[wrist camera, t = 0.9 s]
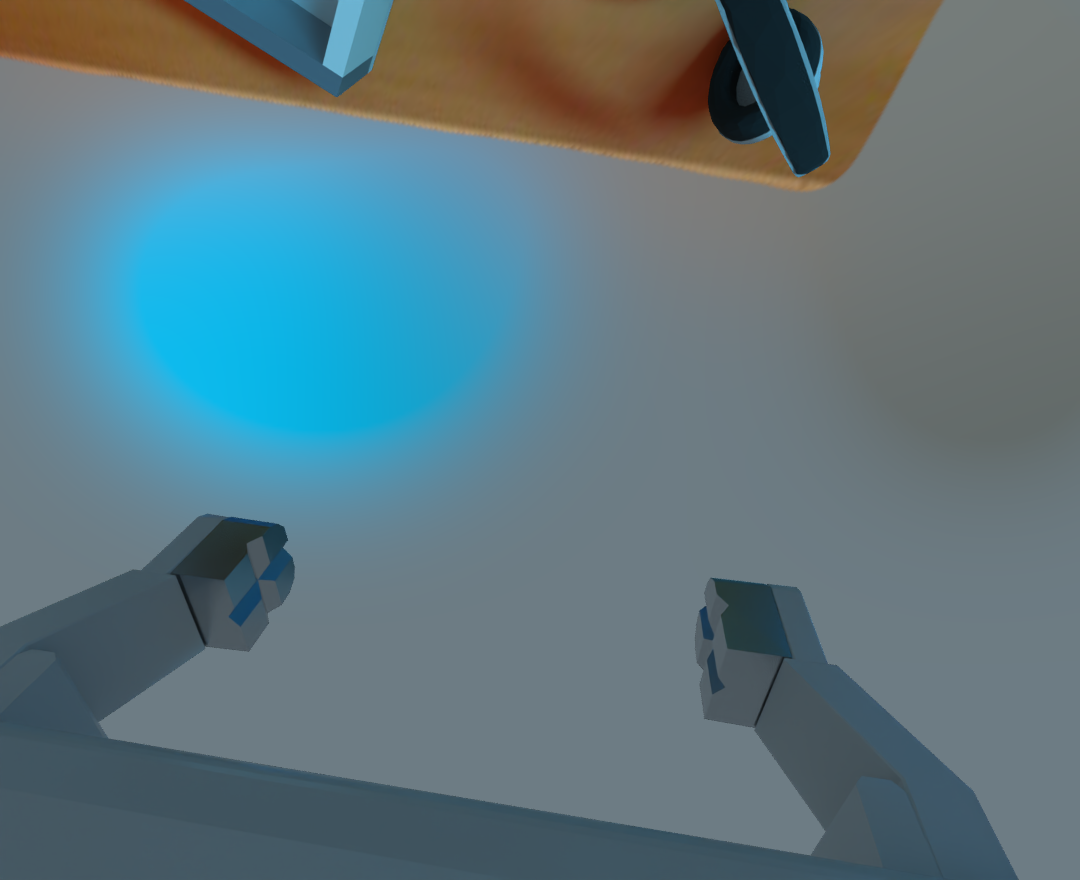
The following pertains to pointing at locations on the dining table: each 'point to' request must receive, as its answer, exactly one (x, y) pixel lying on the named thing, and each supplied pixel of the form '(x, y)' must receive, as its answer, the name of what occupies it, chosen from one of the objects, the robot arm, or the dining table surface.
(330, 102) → the dining table surface
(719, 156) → the dining table surface
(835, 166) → the dining table surface
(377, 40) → the u-shaped bracket
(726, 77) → the headphones
